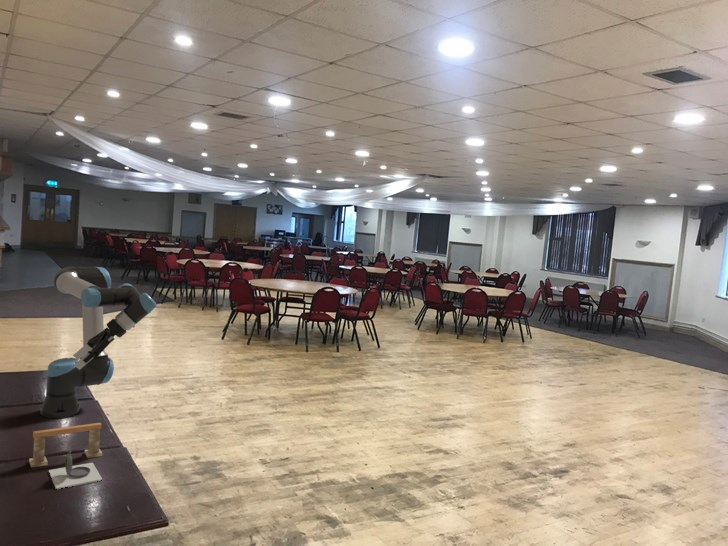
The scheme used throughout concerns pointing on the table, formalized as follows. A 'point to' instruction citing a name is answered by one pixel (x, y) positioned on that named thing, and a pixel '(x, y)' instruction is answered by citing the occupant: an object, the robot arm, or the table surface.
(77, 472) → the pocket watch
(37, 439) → the posts
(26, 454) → the table surface
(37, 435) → the bar
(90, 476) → the mat
